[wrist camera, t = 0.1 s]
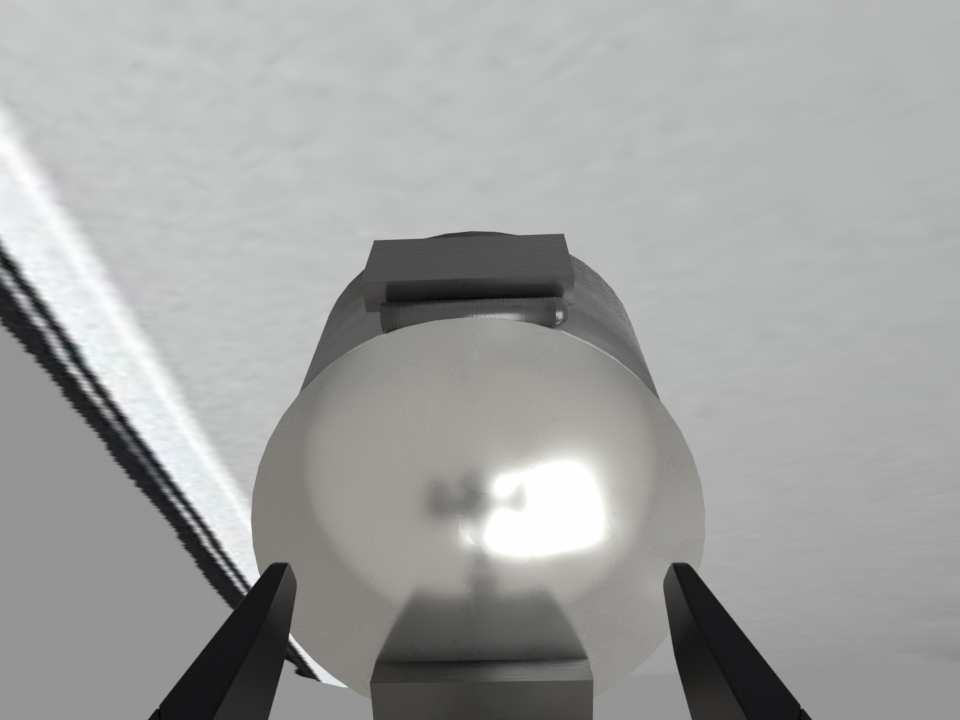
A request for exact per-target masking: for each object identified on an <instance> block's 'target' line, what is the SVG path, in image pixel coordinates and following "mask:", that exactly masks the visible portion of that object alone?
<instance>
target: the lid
mask: <svg viewBox="0 0 960 720" xmlns="http://www.w3.org/2000/svg"><path fill="white" fill-rule="evenodd" d="M568 317H569V307H568V305H567V303H566V302H565V301H564V300H563V299H561V298H559V297H529V298H498V299H467V300H436V301H406V302H382V303H381V308H380V322H381V328H382V331H383V332H381V333H379V334H377V335H375V336H373V337H372V338H370V339H368V340H366V341H364V342H362V343H360V344H359V345H357V346H355V347H353V348H352V349H350V350H349V351H348V352H346V353H345V354H344V355H342V356H341V357H339V358H338V359H337V360H335V361H334V362H333V363H331V364H330V365H329V366H328V367H326V368H325V369H324V370H323V371H322V372H321V373H320V374H319V375H318V376H317V377H316V378H315V379H314V380H313V381H312V382H311V383H309V384H308V385H307V386H306V387H305V388H304V389H303V390H302V391H301V392H300V393H299V395H298V396H297V397H296V399H295V400H294V401H293V402H292V404H291V405H290V406H289V408H288V409H287V410H286V412H285V413H284V414H283V415H282V417H281V419H280V421H279V422H278V424H277V426H276V428H275V430H274V431H273V433H272V435H271V437H270V439H269V440H268V443H267V445H266V448H265V451H264V453H263V456H262V459H261V461H260V464H259V467H258V471H257V476H256V480H255V485H254V489H253V496H252V510H251V529H252V542H253V549H254V554H255V558H256V563H257V567H258V572H259V574H260V576H261V575H262V574H263V573H264V571H265V570H266V569H267V567H268V566H269V565H270V564H272V563H275V562H287V563H289V564H290V565H291V568H292V570H293V573H294V575H295V578H296V581H297V591H296V597H295V603H294V609H293V615H292V622H291V628H290V634H291V635H292V637H293V638H294V640H295V641H296V642H297V643H298V644H299V645H300V646H301V647H302V648H303V650H304V651H305V652H306V653H307V654H308V655H309V656H310V657H311V658H312V659H313V660H314V661H315V662H316V663H317V664H318V665H320V666H321V667H322V668H323V669H324V670H326V671H327V672H328V673H329V674H330V675H331V676H333V677H334V678H335V679H337V680H338V681H340V682H341V683H343V684H344V685H346V686H348V687H349V688H351V689H352V690H354V691H355V692H357V693H359V694H361V695H363V696H365V697H367V698H369V699H371V700H372V711H373V720H593V698H594V697H596V696H598V695H600V694H601V693H603V692H605V691H607V690H609V689H610V688H612V687H613V686H615V685H616V684H618V683H619V682H620V681H622V680H623V679H624V678H626V677H627V676H629V675H630V674H631V673H633V672H634V671H635V670H636V669H637V668H638V667H639V666H640V665H641V664H642V663H643V662H645V661H646V660H647V659H648V658H649V657H650V656H651V655H652V654H653V653H654V652H655V650H656V649H657V648H658V647H659V646H660V644H661V643H662V642H663V641H664V640H665V638H666V637H667V636H668V635H669V633H670V628H669V622H668V615H667V609H666V603H665V597H664V591H663V581H664V578H665V575H666V573H667V570H668V568H669V565H670V564H671V563H673V562H685V563H688V564H690V565H691V566H692V567H693V569H694V570H695V571H696V573H697V574H698V572H699V569H700V566H701V562H702V555H703V548H704V541H705V506H704V499H703V492H702V486H701V481H700V478H699V474H698V471H697V468H696V465H695V461H694V458H693V455H692V453H691V451H690V449H689V447H688V445H687V443H686V441H685V438H684V436H683V434H682V432H681V430H680V428H679V427H678V425H677V424H676V423H675V421H674V420H673V418H672V417H671V415H670V414H669V412H668V411H667V409H666V408H665V406H664V405H663V404H662V403H661V401H660V400H659V399H658V398H657V397H656V396H655V395H654V394H653V393H652V392H651V390H650V389H649V388H648V387H647V386H646V385H645V384H644V383H643V382H642V381H641V380H640V379H639V378H638V377H637V376H636V375H635V374H634V373H633V372H632V371H631V370H629V369H628V368H627V367H626V366H625V365H623V364H622V363H621V362H620V361H619V360H617V359H616V358H615V357H614V356H612V355H611V354H609V353H608V352H606V351H604V350H603V349H601V348H600V347H598V346H596V345H595V344H593V343H592V342H590V341H588V340H587V339H584V338H582V337H580V336H578V335H576V334H573V333H571V332H569V331H567V330H565V329H562V328H560V327H559V326H561V325H563V324H564V323H565V322H566V321H567V319H568Z"/></svg>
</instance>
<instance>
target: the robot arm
mask: <svg viewBox="0 0 960 720" xmlns="http://www.w3.org/2000/svg"><path fill="white" fill-rule="evenodd" d="M296 591H297V581H296V578H295V575H294V573H293V570H292V568H291V565H290V564H289V563H287V562H275V563H272V564H270V565H269V566H268V567H267V569H266V570H265V571H264V573H263V574H262V575H261V576H260V578H259V579H258V580H257V581H256V583H255V584H254V585H253V587H252V588H251V589H250V590H249V592H248V593H247V594H246V595H245V597H244V598H243V599H242V601H241V602H240V603H239V604H238V606H237V607H236V608H235V609H234V611H233V612H232V613H231V615H230V616H229V617H228V618H227V620H226V621H225V622H224V623H223V625H222V626H221V627H220V629H219V630H218V631H217V632H216V634H215V635H214V636H213V637H212V639H211V640H210V641H209V643H208V644H207V645H206V646H205V648H204V649H203V650H202V651H201V653H200V654H199V655H198V657H197V658H196V659H195V660H194V662H193V663H192V664H191V665H190V667H189V668H188V669H187V670H186V672H185V673H184V674H183V676H182V677H181V678H180V680H179V681H178V682H177V683H176V685H175V686H174V687H173V688H172V690H171V691H170V692H169V693H168V695H167V696H166V697H165V698H164V700H163V701H162V702H161V704H160V705H159V708H158V709H156V710H155V711H154V712H153V713H152V715H151V716H150V717H149V719H148V720H268V719H269V715H270V712H271V708H272V704H273V701H274V697H275V694H276V690H277V686H278V683H279V679H280V675H281V672H282V668H283V664H284V660H285V656H286V651H287V646H288V640H289V634H290V628H291V622H292V615H293V609H294V603H295V597H296ZM663 591H664V597H665V603H666V609H667V615H668V622H669V628H670V634H671V640H672V646H673V651H674V656H675V660H676V664H677V668H678V672H679V675H680V679H681V683H682V686H683V690H684V694H685V697H686V701H687V704H688V708H689V712H690V715H691V719H692V720H812V719H811V717H810V716H809V715H808V713H807V712H806V711H805V710H804V709H803V708H801V705H800V703H799V702H798V701H797V700H796V698H795V697H794V696H793V695H792V693H791V692H790V691H789V690H788V688H787V687H786V686H785V684H784V683H783V682H782V681H781V679H780V678H779V677H778V676H777V674H776V673H775V672H774V670H773V669H772V668H771V667H770V665H769V664H768V663H767V662H766V660H765V659H764V658H763V656H762V655H761V654H760V653H759V651H758V650H757V649H756V648H755V646H754V645H753V644H752V642H751V641H750V640H749V639H748V637H747V636H746V635H745V634H744V632H743V631H742V630H741V628H740V627H739V626H738V625H737V623H736V622H735V621H734V620H733V618H732V617H731V616H730V615H729V613H728V612H727V611H726V609H725V608H724V607H723V606H722V604H721V603H720V602H719V601H718V599H717V598H716V597H715V595H714V594H713V593H712V592H711V590H710V589H709V588H708V587H707V585H706V584H705V583H704V581H703V580H702V579H701V578H700V576H699V575H698V574H697V573H696V571H695V570H694V569H693V567H692V566H691V565H690V564H688V563H685V562H673V563H671V564H670V565H669V568H668V570H667V573H666V575H665V578H664V581H663Z"/></svg>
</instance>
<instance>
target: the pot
mask: <svg viewBox="0 0 960 720" xmlns="http://www.w3.org/2000/svg"><path fill="white" fill-rule="evenodd" d="M529 297H559V298H561V299H563V300H564V301H565V302H566V303H567V305H568V307H569V317H568V319H567V321H566V322H565V323H564V324H563V325H561V326H559V327H560V328H562V329H565V330H567V331H569V332H571V333H573V334H576V335H578V336H580V337H582V338H584V339H587V340H588V341H590V342H592V343H593V344H595V345H596V346H598V347H600V348H601V349H603V350H604V351H606V352H608V353H609V354H611V355H612V356H614V357H615V358H616V359H617V360H619V361H620V362H621V363H622V364H623V365H625V366H626V367H627V368H628V369H629V370H631V371H632V372H633V373H634V374H635V375H636V376H637V377H638V378H639V379H640V380H641V381H642V382H643V383H644V384H645V385H646V386H647V387H648V388H649V389H650V390H651V392H652V393H653V394H654V395H655V396H656V397H657V398H658V399H659V400H660V398H659V396H658V393H657V390H656V388H655V385H654V382H653V380H652V377H651V374H650V372H649V369H648V366H647V364H646V361H645V358H644V356H643V353H642V350H641V348H640V345H639V342H638V340H637V337H636V334H635V332H634V329H633V326H632V324H631V321H630V319H629V317H628V314H627V312H626V310H625V308H624V306H623V304H622V302H621V301H620V299H619V298H618V296H617V295H616V293H615V292H614V290H613V289H612V288H611V287H610V286H609V285H608V284H607V283H606V282H605V280H604V279H603V278H602V277H601V276H600V275H599V274H598V273H596V272H595V271H594V270H593V269H591V268H590V267H589V266H588V265H586V264H585V263H584V262H582V261H581V260H579V259H577V258H576V257H574V256H572V255H571V254H569V251H568V247H567V243H566V240H565V236H564V234H537V235H514V234H508V233H501V232H486V231H467V232H457V233H447V234H442V235H438V236H433V237H429V238H423V239H395V240H374V242H373V245H372V248H371V251H370V254H369V257H368V260H367V263H366V266H365V269H364V270H363V271H362V272H361V273H360V274H359V275H358V276H356V277H355V278H354V279H353V280H352V281H351V282H350V283H349V284H348V286H347V287H346V288H345V290H344V291H343V292H342V294H341V295H340V296H339V298H338V299H337V301H336V303H335V305H334V306H333V308H332V310H331V312H330V314H329V316H328V319H327V322H326V324H325V327H324V329H323V332H322V335H321V337H320V340H319V342H318V345H317V348H316V350H315V353H314V355H313V358H312V361H311V363H310V366H309V368H308V371H307V374H306V376H305V379H304V382H303V384H302V387H301V389H300V392H301V391H302V390H303V389H304V388H305V387H306V386H307V385H308V384H309V383H311V382H312V381H313V380H314V379H315V378H316V377H317V376H318V375H319V374H320V373H321V372H322V371H323V370H324V369H325V368H326V367H328V366H329V365H330V364H331V363H333V362H334V361H335V360H337V359H338V358H339V357H341V356H342V355H344V354H345V353H346V352H348V351H349V350H350V349H352V348H353V347H355V346H357V345H359V344H360V343H362V342H364V341H366V340H368V339H370V338H372V337H373V336H375V335H377V334H379V333H381V332H383V331H382V328H381V322H380V308H381V303H382V302H406V301H436V300H467V299H498V298H529ZM300 392H299V393H300Z"/></svg>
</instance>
